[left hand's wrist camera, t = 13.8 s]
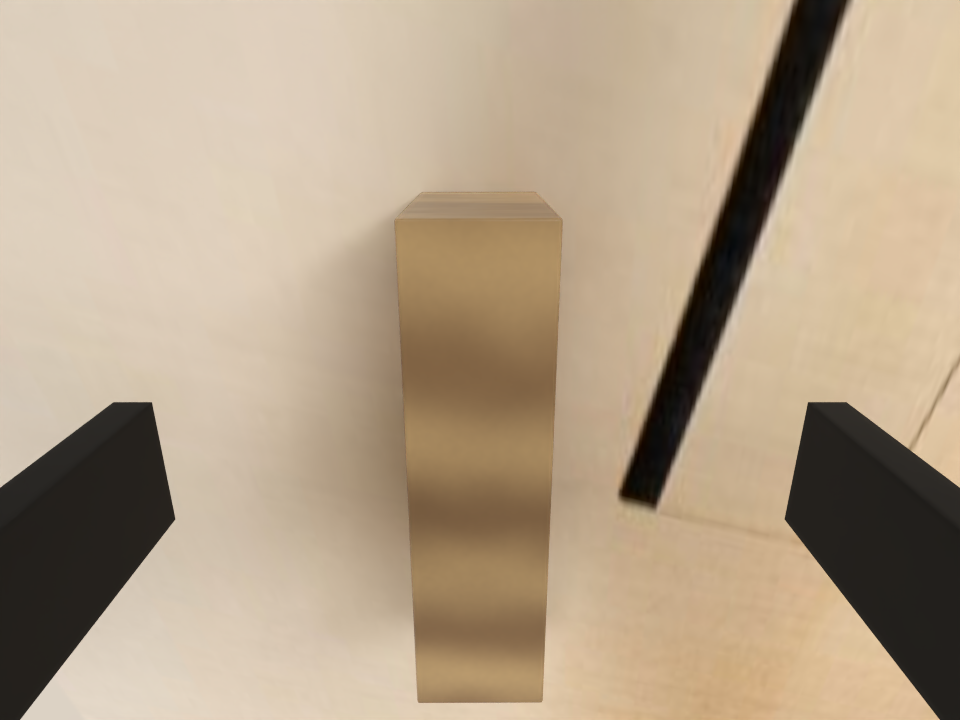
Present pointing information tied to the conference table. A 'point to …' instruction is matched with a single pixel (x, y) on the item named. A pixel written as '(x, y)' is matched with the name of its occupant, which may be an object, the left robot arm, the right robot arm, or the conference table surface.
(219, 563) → the conference table surface
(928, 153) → the conference table surface
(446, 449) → the box
